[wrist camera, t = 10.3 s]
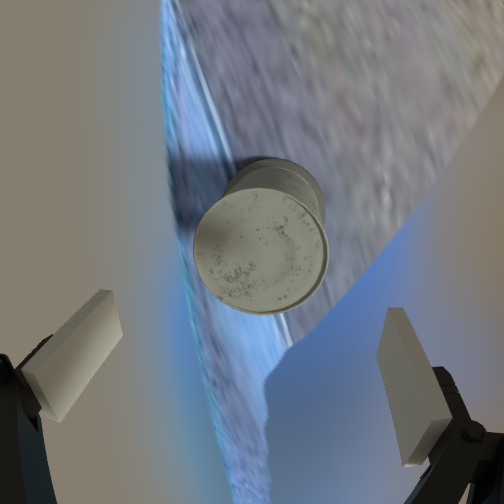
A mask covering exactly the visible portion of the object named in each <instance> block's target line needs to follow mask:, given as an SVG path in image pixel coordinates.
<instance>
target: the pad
mask: <svg viewBox="0 0 504 504" xmlns="http://www.w3.org/2000/svg"><path fill="white" fill-rule="evenodd" d="M272 166H274V167H282V168H286V169H288V170H291V171H294V172H295V173H297V174H298V175H300V176H301V177H303V178H304V179H305V180H306V181H307V182H308V183H309V184H310V186H311V188H312V189H313V191H314V193H315V195H316V198H317V201H318V207H319V212H320V216H321V220H322V224H324V219H325V202H324V198H323V195H322V192H321V190H320V187H319V185H318V184H317V182H316V180H315V179H314V178H313V176H312V175H311V174H310V173H309V172H308V171H307V170H305V169H304V168H303V167H301V166H299V165H298V164H296V163H294V162H291V161H288V160H284V159H278V158H268V159H262V160H258V161H255V162H253V163H251V164H249V165H247V166H245V167H244V168H243V169H241V170H240V171H239V172H238V173H237V174H236V175H235V176H234V177H233V178H232V179H231V181H230V182H229V183H228V185H227V187H226V189H225V192H224V194H223V196H224V195H225V194H227V193H228V192H229V191H230V190H231V189H232V188H233V187H234V186H235V185H236V184H237V183H238V182H239V181H240V180H241V179H242V178H243V177H244V176H245V175H247V174H248V173H250V172H251V171H254V170H256V169H259V168H262V167H272Z"/></svg>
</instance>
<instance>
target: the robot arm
mask: <svg viewBox="0 0 504 504" xmlns="http://www.w3.org/2000/svg"><path fill="white" fill-rule="evenodd" d="M122 336H123V334H122V330H121V326H120V322H119V317H118V313H117V309H116V305H115V300H114V295H113V291H111V290H103V289H101V290H99V291H98V292H97V293H96V294H95V295H94V296H93V297H92V298H91V299H90V300H89V301H87V302H86V303H85V304H84V305H83V306H82V307H81V308H80V309H79V310H78V311H77V312H76V313H75V314H74V315H73V316H72V317H71V318H70V319H69V320H68V321H67V322H66V323H65V324H64V325H63V326H62V327H61V328H60V329H59V330H58V331H57V332H56V333H55V334H54V335H53V334H52V335H50V336H49V337H47V338H45V339H43V340H42V342H40V343H39V345H38V346H37V348H35V349H34V350H33V351H32V353H30V354H29V355H28V356H27V357H26V358H25V359H24V360H23V361H22V362H21V363H20V364H19V365H18V366H17V367H16V368H15V370H14V368H13V366H12V364H11V362H10V360H9V358H8V356H7V355H5V354H0V504H57V501H56V497H55V494H54V489H53V485H52V481H51V476H50V471H49V466H48V461H47V456H46V451H45V444H44V438H43V431H42V423H41V418H40V415H39V414H38V413H39V411H40V410H41V409H42V410H43V411H44V413H45V414H46V416H47V417H48V418H50V419H52V420H55V421H57V422H59V423H61V421H62V420H63V418H64V417H65V415H66V414H67V412H68V411H69V410H70V408H71V407H72V405H73V404H74V402H75V401H76V399H77V398H78V397H79V395H80V394H81V392H82V391H83V390H84V388H85V387H86V385H87V384H88V382H89V381H90V380H91V378H92V377H93V376H94V374H95V373H96V371H97V370H98V368H99V367H100V366H101V364H102V363H103V362H104V360H105V359H106V358H107V356H108V355H109V353H110V352H111V351H112V349H113V348H114V347H115V345H116V344H117V343H118V341H119V340H120V339H121V337H122ZM376 356H377V359H378V363H379V367H380V371H381V374H382V378H383V382H384V386H385V390H386V393H387V397H388V401H389V406H390V409H391V414H392V418H393V422H394V427H395V431H396V436H397V440H398V445H399V449H400V455H401V460H402V465H403V467H409V466H415V465H422V464H423V462H424V461H425V460H426V458H427V457H428V458H429V462H430V466H429V467H428V468H427V469H426V471H425V472H424V473H423V475H422V476H421V477H420V481H419V482H418V484H417V485H416V487H415V488H414V490H413V491H412V493H411V494H410V496H409V497H408V498H407V500H406V501H405V503H404V504H458V503H459V501H460V499H461V498H462V496H463V494H464V492H465V490H466V488H467V485H468V484H469V483H471V484H470V489H469V493H468V498H467V502H466V504H504V433H492V432H486V429H485V428H484V427H483V425H482V424H480V423H478V422H477V421H473V420H471V418H470V416H469V413H468V411H467V409H466V406H465V404H464V402H463V400H462V397H461V395H460V393H458V389H457V387H456V386H455V383H454V380H453V378H452V376H451V374H450V373H449V372H448V371H447V370H446V369H445V368H444V367H443V366H442V367H431V365H430V363H429V360H428V358H427V356H426V354H425V352H424V350H423V348H422V346H421V343H420V341H419V339H418V337H417V335H416V333H415V331H414V329H413V326H412V324H411V322H410V320H409V319H408V316H407V314H406V312H405V310H404V309H403V308H388V309H387V313H386V318H385V322H384V326H383V331H382V335H381V339H380V342H379V347H378V350H377V354H376Z"/></svg>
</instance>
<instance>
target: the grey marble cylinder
mask: <svg viewBox="0 0 504 504" xmlns="http://www.w3.org/2000/svg"><path fill="white" fill-rule="evenodd" d="M193 255H194V260H195V265H196V269H197V271H198V273H199V275H200V278H201V280H202V281H203V283H204V284H205V286H206V287H207V288H208V290H209V291H210V292H211V293H212V294H213V295H214V296H215V297H216V298H218V299H219V300H220V301H221V302H223V303H224V304H226V305H228V306H230V307H231V308H233V309H236V310H239V311H241V312H244V313H248V314H255V315H275V314H279V313H283V312H287V311H290V310H292V309H294V308H296V307H298V306H300V305H301V304H303V303H304V302H305V301H306V300H308V299H309V298H310V297H312V295H313V294H314V293H315V292H316V290H317V289H318V288H319V287H320V285H321V283H322V281H323V279H324V277H325V275H326V273H327V268H328V263H329V243H328V240H327V237H326V233H325V230H324V228H323V224H322V220H321V216H320V212H319V207H318V201H317V198H316V195H315V193H314V191H313V189H312V188H311V186H310V184H309V183H308V182H307V181H306V180H305V179H304V178H303V177H301V176H300V175H298V174H297V173H295V172H294V171H291V170H288V169H286V168H282V167H274V166H272V167H262V168H259V169H256V170H254V171H251V172H250V173H248V174H247V175H245V176H244V177H243V178H242V179H241V180H240V181H239V182H238V183H237V184H236V185H235V186H234V187H233V188H232V189H231V190H230V191H229V192H228V193H227V194H225V195H224V196H223V197H222V198H221V199H219V200H218V201H216V202H215V203H214V204H213V205H212V206H211V207H210V208H209V209H208V210H207V211H206V212H205V214H204V215H203V217H202V219H201V221H200V222H199V224H198V226H197V229H196V233H195V237H194V243H193Z"/></svg>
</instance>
